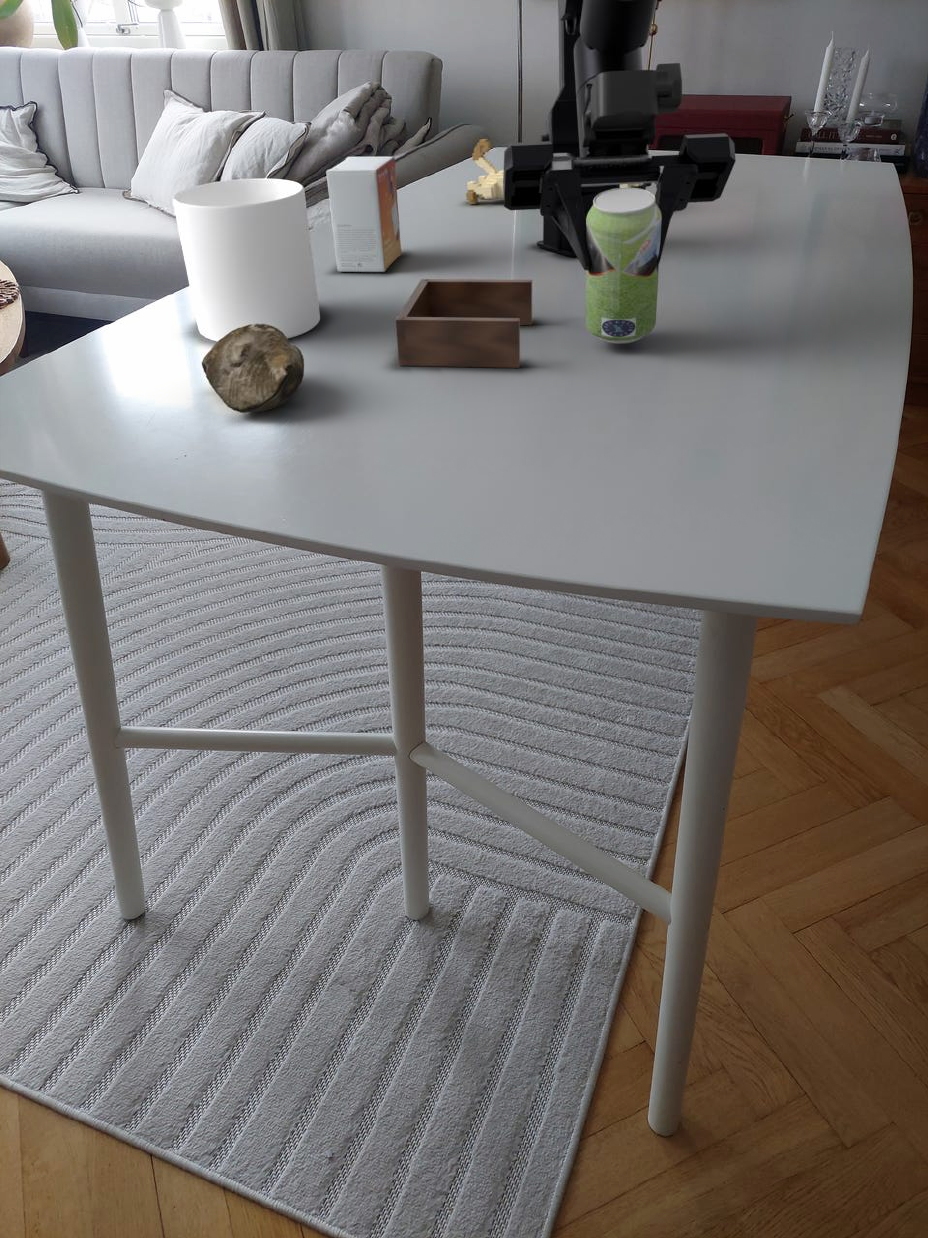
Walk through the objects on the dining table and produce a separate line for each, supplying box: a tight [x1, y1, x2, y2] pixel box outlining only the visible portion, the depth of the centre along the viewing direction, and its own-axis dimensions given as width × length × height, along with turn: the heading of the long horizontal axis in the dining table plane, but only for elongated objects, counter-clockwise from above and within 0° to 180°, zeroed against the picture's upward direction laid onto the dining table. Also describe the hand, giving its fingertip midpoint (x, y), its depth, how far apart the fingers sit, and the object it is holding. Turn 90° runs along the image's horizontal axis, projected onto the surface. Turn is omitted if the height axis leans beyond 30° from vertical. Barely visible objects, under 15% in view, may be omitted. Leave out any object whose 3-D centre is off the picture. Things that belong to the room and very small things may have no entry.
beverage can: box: [585, 188, 662, 344], centre depth 81 cm, size 6×7×12 cm
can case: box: [395, 278, 533, 369], centre depth 86 cm, size 10×12×4 cm
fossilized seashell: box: [201, 323, 305, 414], centre depth 77 cm, size 8×7×10 cm
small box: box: [325, 156, 402, 273], centre depth 106 cm, size 8×6×10 cm
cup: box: [172, 177, 321, 343], centre depth 90 cm, size 12×12×12 cm
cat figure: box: [465, 138, 656, 205], centre depth 126 cm, size 10×9×25 cm
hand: (621, 266), depth 79 cm, fingers closed on beverage can, 5 cm apart
